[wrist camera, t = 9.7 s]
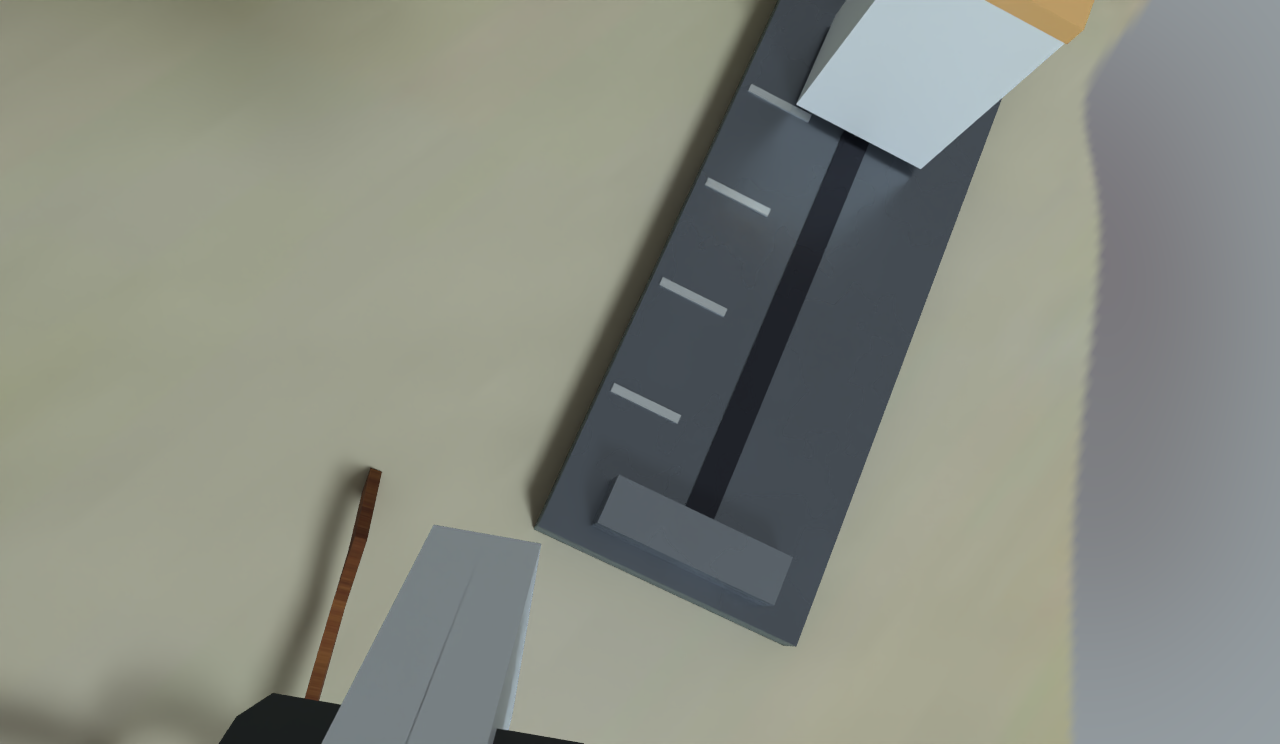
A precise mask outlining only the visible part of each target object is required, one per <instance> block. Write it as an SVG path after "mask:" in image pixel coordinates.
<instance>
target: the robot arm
mask: <svg viewBox="0 0 1280 744" xmlns="http://www.w3.org/2000/svg"><path fill="white" fill-rule="evenodd" d="M540 548H541V544H540V543H535V542H529V541H523V540H518V539H512V538H506V537H501V536H495V535H489V534H484V533H478V532H472V531H467V530H461V529H455V528H450V527H444V526H438V525H433V527H432V529H431V531H430V533H429V535H428V537H427V539H426V541H425V543H424V545H423V547H422V549H421V551H420V553H419V554H418V556H417V558H416V560H415V562H414V564H413V566H412V568H411V570H410V572H409V574H408V576H407V578H406V580H405V582H404V584H403V586H402V588H401V590H400V591H399V593H398V595H397V597H396V599H395V601H394V603H393V605H392V607H391V609H390V611H389V613H388V615H387V617H386V619H385V621H384V623H383V625H382V627H381V629H380V630H379V632H378V634H377V636H376V638H375V640H374V642H373V644H372V646H371V648H370V650H369V652H368V654H367V656H366V658H365V660H364V662H363V664H362V666H361V667H360V669H359V671H358V673H357V675H356V677H355V679H354V681H353V683H352V685H351V687H350V689H349V691H348V693H347V695H346V697H345V699H344V701H343V703H342V705H339V704H334V703H328V702H322V701H316V700H311V699H305V698H299V697H293V696H287V695H282V694H276V693H272V694H271V695H269V696H267V697H266V698H264V699H263V700H261V701H260V702H258V703H257V704H255V705H254V706H252V707H251V708H249V709H248V710H246V711H244V712H243V713H241V714H240V715H238V716H237V717H236V718H235V720H234V721H233V723H232V724H231V726H230V727H229V729H228V730H227V732H226V733H225V735H224V736H223V738H222V739H221V741H220V742H219V744H584V743H579V742H573V741H567V740H561V739H556V738H550V737H544V736H538V735H532V734H527V733H521V732H515V731H509V726H510V722H511V718H512V714H513V708H514V702H515V696H516V690H517V684H518V678H519V672H520V666H521V660H522V654H523V649H524V643H525V637H526V631H527V625H528V619H529V613H530V607H531V601H532V595H533V589H534V583H535V578H536V572H537V566H538V560H539V554H540Z"/></svg>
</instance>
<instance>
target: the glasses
mask: <svg viewBox="0 0 1280 744" xmlns="http://www.w3.org/2000/svg"><path fill="white" fill-rule="evenodd" d="M381 473H382V472H381V471H378V470H375V469H372V468H371V469H370V471H369V474H368V477H367V480H366V483H365V486H364V489H363V491H362V495H361V500H360V504H359V508H358V512H357V517H356V521H355V525H354V529H353V534H352V538H351V542H350V546H349V550H348V554H347V557H346V560H345V564H344V567H343V571H342V574H341V577H340V581H339V584H338V587H337V591H336V594H335V597H334V600H333V604H332V607H331V610H330V614H329V617H328V620H327V624H326V627H325V630H324V634H323V637H322V641H321V644H320V647H319V651H318V654H317V657H316V661H315V664H314V668H313V671H312V675H311V678H310V682H309V685H308V689H307V692H306V696H305V699H311V700H316V701H319V699H320V695H321V692H322V688H323V685H324V681H325V678H326V674H327V670H328V667H329V663H330V660H331V656H332V652H333V649H334V645H335V642H336V638H337V634H338V631H339V627H340V624H341V620H342V616H343V613H344V609H345V606H346V603H347V599H348V596H349V593H350V590H351V587H352V584H353V581H354V578H355V575H356V572H357V569H358V566H359V563H360V560H361V557H362V554H363V551H364V548H365V545H366V542H367V538H368V533H369V529H370V524H371V519H372V515H373V510H374V506H375V501H376V496H377V492H378V487H379V483H380V478H381Z"/></svg>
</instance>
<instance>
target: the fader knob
mask: <svg viewBox="0 0 1280 744" xmlns="http://www.w3.org/2000/svg"><path fill="white" fill-rule="evenodd" d="M1093 3H1094V0H846V1H845V3H844V4H843V5H842V7H841V8H840V10H839V11H838V12H837V14H836V15H835V18H834V20H833V22H832V24H831V27H830V29H829V31H828V33H827V36H826V38H825V40H824V42H823V45H822V47H821V49H820V52H819V54H818V56H817V58H816V61H815V63H814V65H813V67H812V70H811V72H810V74H809V76H808V79H807V81H806V83H805V86H804V88H803V90H802V92H801V95H800V97H799V99H798V101H797V104H796V105H798V106H800V107H802V108H804V109H806V110H808V111H810V112H811V113H813V114H815V115H817V116H819V117H821V118H823V119H825V120H827V121H829V122H831V123H833V124H835V125H837V126H838V127H840V128H842V129H844V130H846V131H848V132H850V133H852V134H854V135H856V136H858V137H860V138H862V139H864V140H865V141H867V142H869V143H871V144H873V145H875V146H877V147H879V148H881V149H883V150H885V151H887V152H889V153H890V154H892V155H894V156H896V157H898V158H900V159H902V160H904V161H906V162H908V163H910V164H912V165H914V166H916V167H917V168H919V169H921V168H923V167H924V166H925V165H926V164H927V163H928V162H929V161H931V160H932V159H933V158H934V157H935V156H936V155H937V154H939V153H940V152H941V151H942V150H943V149H944V148H945V147H947V146H948V145H949V144H950V143H951V142H952V141H953V140H955V139H956V138H957V137H958V136H959V135H960V134H961V133H963V132H964V131H965V130H966V129H967V128H968V127H969V126H971V125H972V124H973V123H974V122H975V121H976V120H977V119H979V118H980V117H981V116H982V115H983V114H984V113H985V112H987V111H988V110H989V109H990V108H991V107H992V106H993V105H995V104H996V103H997V102H998V101H999V100H1000V99H1001V98H1003V97H1004V96H1005V95H1006V94H1007V93H1008V92H1009V91H1011V90H1012V89H1013V88H1014V87H1015V86H1016V85H1017V84H1019V83H1020V82H1021V81H1022V80H1023V79H1024V78H1025V77H1027V76H1028V75H1029V74H1030V73H1031V72H1032V71H1033V70H1035V69H1036V68H1037V67H1038V66H1039V65H1040V64H1041V63H1043V62H1044V61H1045V60H1046V59H1047V58H1048V57H1049V56H1051V55H1052V54H1053V53H1054V52H1055V51H1056V50H1057V49H1059V48H1060V47H1061V46H1062V45H1063V44H1064V43H1065V44H1068V43H1069V42H1070V41H1071V40H1072V39H1074V38H1075V37H1076V36H1077V35H1078V34H1079V33H1080V32H1082V31H1083V30H1084V28H1085V25H1086V22H1087V20H1088V17H1089V14H1090V11H1091V8H1092V6H1093Z"/></svg>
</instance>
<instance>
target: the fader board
mask: <svg viewBox="0 0 1280 744" xmlns="http://www.w3.org/2000/svg"><path fill="white" fill-rule="evenodd" d="M845 1H846V0H778V1H777V4H776V6H775V8H774V10H773V12H772V14H771V17H770V19H769V21H768V23H767V25H766V27H765V30H764V32H763V34H762V36H761V38H760V40H759V43H758V45H757V47H756V49H755V51H754V53H753V56H752V58H751V60H750V62H749V64H748V66H747V69H746V71H745V73H744V75H743V77H742V79H741V82H740V84H739V86H738V88H737V90H736V92H735V95H734V97H733V99H732V101H731V103H730V105H729V107H728V110H727V112H726V114H725V116H724V118H723V120H722V123H721V125H720V127H719V129H718V131H717V133H716V136H715V138H714V140H713V142H712V144H711V146H710V149H709V151H708V153H707V155H706V157H705V159H704V162H703V164H702V166H701V168H700V170H699V172H698V175H697V177H696V179H695V181H694V183H693V185H692V188H691V190H690V192H689V194H688V196H687V198H686V201H685V203H684V205H683V207H682V209H681V211H680V213H679V216H678V218H677V220H676V222H675V224H674V226H673V229H672V231H671V233H670V235H669V237H668V239H667V242H666V244H665V246H664V248H663V250H662V252H661V255H660V257H659V259H658V261H657V263H656V265H655V268H654V270H653V272H652V274H651V276H650V278H649V281H648V283H647V285H646V287H645V289H644V291H643V294H642V296H641V298H640V300H639V302H638V304H637V307H636V309H635V311H634V313H633V315H632V317H631V319H630V322H629V324H628V326H627V328H626V330H625V332H624V335H623V337H622V339H621V341H620V343H619V345H618V348H617V350H616V352H615V354H614V356H613V358H612V361H611V363H610V365H609V367H608V369H607V371H606V374H605V376H604V378H603V380H602V382H601V384H600V387H599V389H598V391H597V393H596V395H595V397H594V400H593V402H592V404H591V406H590V408H589V410H588V413H587V415H586V417H585V419H584V421H583V423H582V425H581V428H580V430H579V432H578V434H577V436H576V438H575V441H574V443H573V445H572V447H571V449H570V451H569V454H568V456H567V458H566V460H565V462H564V464H563V467H562V469H561V471H560V473H559V475H558V477H557V480H556V482H555V484H554V486H553V488H552V490H551V493H550V495H549V497H548V499H547V501H546V503H545V506H544V508H543V510H542V512H541V514H540V516H539V519H538V521H537V523H536V525H535V527H534V530H537V531H539V532H541V533H543V534H545V535H547V536H549V537H552V538H554V539H556V540H558V541H560V542H562V543H564V544H567V545H569V546H571V547H573V548H575V549H577V550H579V551H582V552H584V553H586V554H588V555H590V556H592V557H594V558H597V559H599V560H601V561H603V562H605V563H607V564H610V565H612V566H614V567H616V568H618V569H620V570H622V571H625V572H627V573H629V574H631V575H633V576H635V577H637V578H640V579H642V580H644V581H646V582H648V583H650V584H652V585H655V586H657V587H659V588H661V589H663V590H665V591H667V592H670V593H672V594H674V595H676V596H678V597H680V598H682V599H685V600H687V601H689V602H691V603H693V604H695V605H697V606H700V607H702V608H704V609H706V610H708V611H710V612H712V613H715V614H717V615H719V616H721V617H723V618H725V619H728V620H730V621H732V622H734V623H736V624H738V625H740V626H743V627H745V628H747V629H749V630H751V631H753V632H755V633H758V634H760V635H762V636H764V637H766V638H768V639H770V640H773V641H775V642H777V643H779V644H781V645H783V646H797V643H798V640H799V638H800V635H801V632H802V630H803V627H804V624H805V622H806V619H807V616H808V614H809V611H810V608H811V606H812V603H813V600H814V598H815V595H816V592H817V590H818V587H819V584H820V582H821V579H822V576H823V574H824V571H825V568H826V566H827V563H828V560H829V558H830V555H831V552H832V550H833V547H834V544H835V542H836V539H837V536H838V534H839V531H840V528H841V526H842V523H843V520H844V518H845V515H846V512H847V510H848V507H849V504H850V502H851V499H852V496H853V494H854V491H855V488H856V486H857V483H858V480H859V478H860V475H861V472H862V470H863V467H864V464H865V462H866V459H867V456H868V454H869V451H870V448H871V446H872V443H873V440H874V438H875V435H876V432H877V430H878V427H879V424H880V422H881V419H882V416H883V414H884V411H885V408H886V406H887V403H888V400H889V398H890V395H891V392H892V390H893V387H894V384H895V382H896V379H897V377H898V374H899V371H900V369H901V366H902V363H903V361H904V358H905V355H906V353H907V350H908V347H909V345H910V342H911V339H912V337H913V334H914V331H915V329H916V326H917V323H918V321H919V318H920V315H921V313H922V310H923V307H924V305H925V302H926V299H927V297H928V294H929V291H930V289H931V286H932V283H933V281H934V278H935V275H936V273H937V270H938V267H939V265H940V262H941V259H942V257H943V254H944V251H945V249H946V246H947V243H948V241H949V238H950V235H951V233H952V230H953V227H954V225H955V222H956V219H957V217H958V214H959V211H960V209H961V206H962V203H963V201H964V198H965V195H966V193H967V190H968V187H969V185H970V182H971V179H972V177H973V174H974V171H975V169H976V166H977V163H978V161H979V158H980V155H981V153H982V150H983V147H984V145H985V142H986V139H987V137H988V134H989V131H990V129H991V126H992V123H993V121H994V118H995V115H996V113H997V110H998V107H999V105H1000V102H1001V99H1002V98H1001V99H1000V100H999V101H998V102H997V103H996V104H995V105H993V106H992V107H991V108H990V109H989V110H988V111H987V112H985V113H984V114H983V115H982V116H981V117H980V118H979V119H977V120H976V121H975V122H974V123H973V124H972V125H971V126H969V127H968V128H967V129H966V130H965V131H964V132H963V133H961V134H960V135H959V136H958V137H957V138H956V139H955V140H953V141H952V142H951V143H950V144H949V145H948V146H947V147H945V148H944V149H943V150H942V151H941V152H940V153H939V154H937V155H936V156H935V157H934V158H933V159H932V160H931V161H929V162H928V163H927V164H926V165H925V166H924V167H923V168H921V169H919V168H917V167H916V166H914V165H912V164H910V163H908V162H906V161H904V160H902V159H900V158H898V157H896V156H894V155H892V154H890V153H889V152H887V151H885V150H883V149H881V148H879V147H877V146H875V145H873V144H871V143H869V142H867V141H865V140H864V139H862V138H860V137H858V136H856V135H854V134H852V133H850V132H848V131H846V130H844V129H842V128H840V127H838V126H837V125H835V124H833V123H831V122H829V121H827V120H825V119H823V118H821V117H819V116H817V115H815V114H813V113H811V112H810V111H808V110H806V109H804V108H802V107H800V106H798V105H796V104H797V101H798V99H799V97H800V95H801V92H802V90H803V88H804V86H805V83H806V81H807V79H808V76H809V74H810V72H811V70H812V67H813V65H814V63H815V61H816V58H817V56H818V54H819V52H820V49H821V47H822V45H823V42H824V40H825V38H826V36H827V33H828V31H829V29H830V27H831V24H832V22H833V20H834V18H835V15H836V14H837V12H838V11H839V10H840V8H841V7H842V5H843V4H844V3H845Z"/></svg>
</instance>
